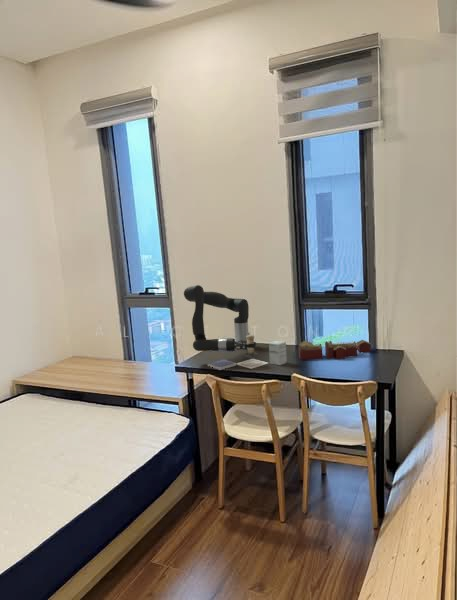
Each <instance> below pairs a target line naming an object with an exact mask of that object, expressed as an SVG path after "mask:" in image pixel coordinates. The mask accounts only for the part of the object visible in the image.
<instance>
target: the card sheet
mask: <svg viewBox="0 0 457 600" xmlns="http://www.w3.org/2000/svg"><path fill="white" fill-rule="evenodd" d="M268 364H269V362H266V361H262V360H259V359H255V358H250V359H247V360H243V361H239V362H237V363H236V366H240V367H242V368H243V367H244V368H247V369H249V370H250V369H251V370H252V369H255V368H258V367H261V366H264V365H268Z"/></svg>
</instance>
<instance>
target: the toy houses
mask: <svg viewBox="0 0 457 600" xmlns="http://www.w3.org/2000/svg"><path fill="white" fill-rule="evenodd" d="M371 345H372V343H370V342H369V341H367V340H364V339H361V340H359V341H351V342H350V341H346V342H345V341H344V342H342V341H341V342H332V340H326V341H325V342H324V348H325V349H324V352H325V353H324V354H325V357H326V358H327V359H328V360H331V359H336V360H345V359H346V358H348V357H349V356H353V357H358V353H359V352H360V353H361V352H363V353H371ZM297 348H298V358H299V360H300V361H303V360H304V361H305V360H306V359H307V360H323V347H322V343H318V344H314V343H313V342H311V341H308V340H304V341H301V342H300V344H298V345H297ZM357 350H358V351H359V352H358V351H357ZM349 358H350V357H349Z"/></svg>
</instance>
